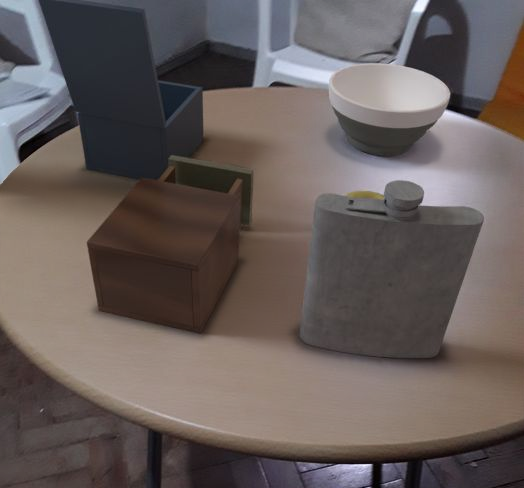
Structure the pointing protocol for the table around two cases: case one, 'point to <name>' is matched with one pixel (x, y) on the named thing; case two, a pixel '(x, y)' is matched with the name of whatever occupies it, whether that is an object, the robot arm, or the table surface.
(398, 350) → the hip flask
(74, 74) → the lid
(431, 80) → the bowl
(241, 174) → the drawer
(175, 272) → the cabinet
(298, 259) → the table surface
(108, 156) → the chest
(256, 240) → the table surface
